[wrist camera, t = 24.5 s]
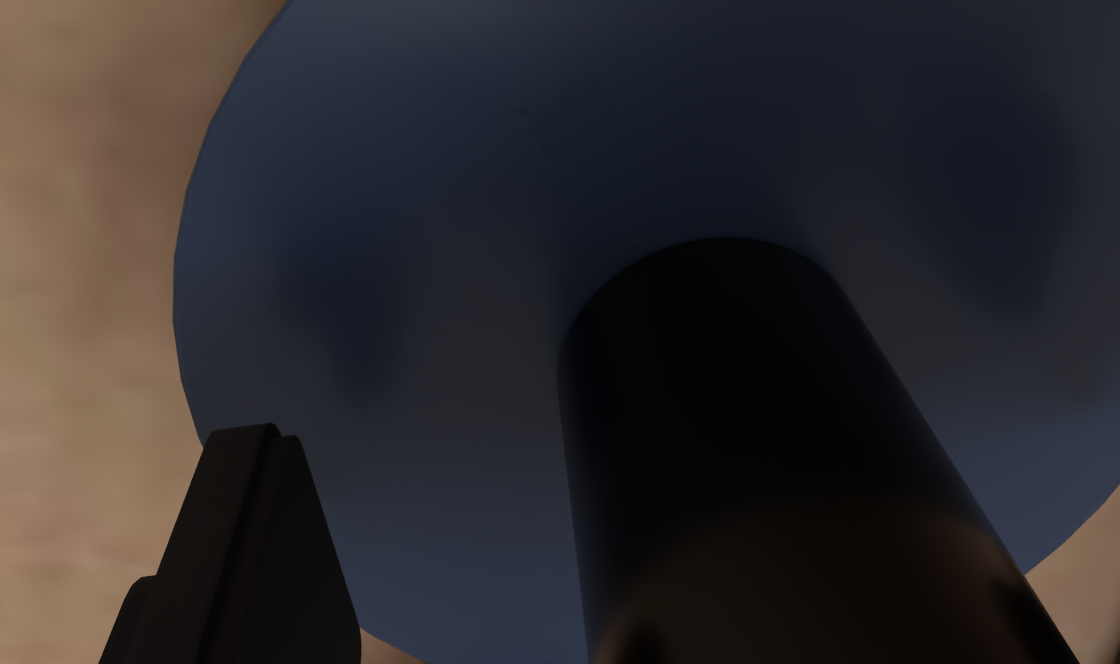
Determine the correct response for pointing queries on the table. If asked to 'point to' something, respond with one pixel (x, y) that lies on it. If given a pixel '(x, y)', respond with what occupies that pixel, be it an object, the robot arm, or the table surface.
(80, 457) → the table surface
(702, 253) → the lid
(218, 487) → the robot arm
